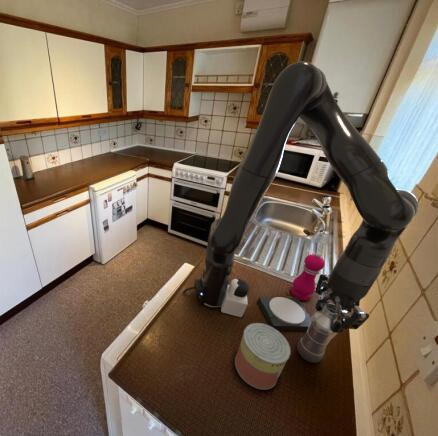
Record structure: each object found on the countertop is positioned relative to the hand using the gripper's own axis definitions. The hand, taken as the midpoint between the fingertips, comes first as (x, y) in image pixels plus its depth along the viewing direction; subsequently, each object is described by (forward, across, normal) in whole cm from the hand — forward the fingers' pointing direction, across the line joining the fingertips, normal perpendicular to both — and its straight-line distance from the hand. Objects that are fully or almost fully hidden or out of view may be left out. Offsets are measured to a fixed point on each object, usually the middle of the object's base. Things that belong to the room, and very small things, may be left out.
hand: (327, 320), depth 64 cm
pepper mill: (+16, -24, +11) cm, 31 cm away
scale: (+16, -14, 0) cm, 21 cm away
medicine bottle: (+16, -17, -18) cm, 29 cm away
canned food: (+16, +4, -17) cm, 24 cm away
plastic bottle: (+16, 0, 0) cm, 16 cm away
